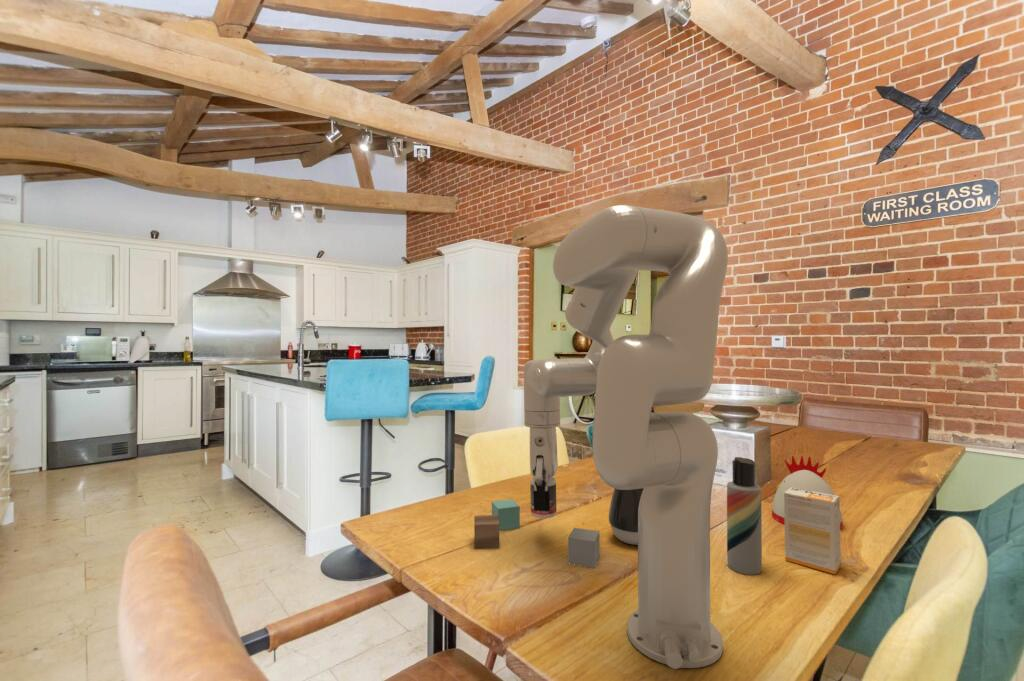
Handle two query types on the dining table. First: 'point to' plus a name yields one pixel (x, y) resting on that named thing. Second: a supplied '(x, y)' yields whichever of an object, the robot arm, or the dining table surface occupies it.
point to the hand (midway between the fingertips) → (543, 504)
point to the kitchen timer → (800, 485)
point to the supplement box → (812, 529)
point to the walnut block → (486, 532)
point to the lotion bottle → (744, 519)
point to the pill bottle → (552, 498)
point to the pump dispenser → (625, 514)
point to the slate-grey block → (583, 547)
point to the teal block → (507, 514)
